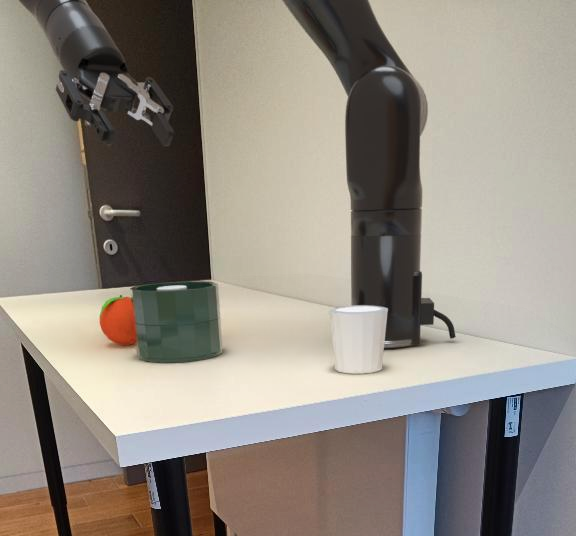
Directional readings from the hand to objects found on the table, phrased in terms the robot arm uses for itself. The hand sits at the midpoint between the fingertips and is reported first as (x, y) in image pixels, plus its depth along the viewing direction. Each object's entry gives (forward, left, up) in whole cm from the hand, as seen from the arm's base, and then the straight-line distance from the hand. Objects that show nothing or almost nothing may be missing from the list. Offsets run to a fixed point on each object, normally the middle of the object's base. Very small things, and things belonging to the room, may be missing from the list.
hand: (140, 140), depth 96 cm
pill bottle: (-3, +3, -26) cm, 27 cm away
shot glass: (-27, +15, -27) cm, 41 cm away
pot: (-3, +3, -27) cm, 27 cm away
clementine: (+7, -5, -27) cm, 28 cm away
